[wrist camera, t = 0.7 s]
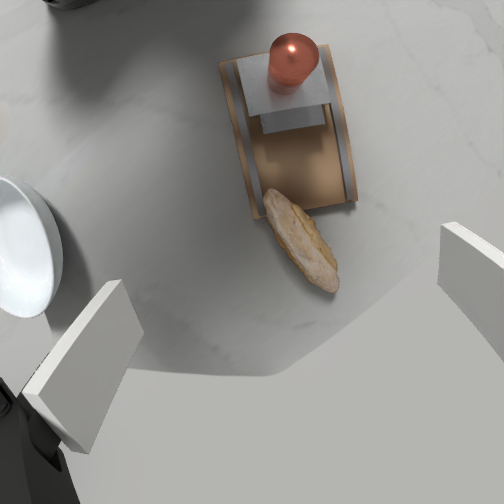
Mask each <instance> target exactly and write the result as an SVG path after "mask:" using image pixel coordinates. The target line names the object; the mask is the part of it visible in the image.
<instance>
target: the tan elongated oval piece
mask: <svg viewBox="0 0 504 504" xmlns="http://www.w3.org/2000/svg"><path fill="white" fill-rule="evenodd" d="M263 203H264V206H265V209H266V212H267V219H268V222H269V224H270V226H271V227H272V229H273V231H274V233H275V235H276V238H277V240H278V242H279V244H280V246H281V247H282V248H283V249H285V250H286V252H287V254H288V256H289V258H290V259H291V260H292V261H293V262H294V263H295V264H296V265H297V267H298V269H300V270H301V272H302V273H303V274H304V275H305V277H306V278H307V280H308V281H309V282H310V283H311V284H315V285H317V286H318V287H320V288H321V289H322V290H324V291H326V292H330V293H335V292H336V291H337V290H338V288H339V278H338V276H337V261H336V259H335V258H334V257H333V255H332V253H331V250H330V248H329V247H328V246H327V244H326V243H325V242H324V240H323V239H322V238H321V236H320V233H319V232H318V231H317V229H316V228H315V222H314V221H313V220H312V218H311V217H310V216H309V215H308V214H307V213H305V212H304V211H303V210H302V209H301V208H300V206H298V205H297V204H294V203H292V202H290V201H289V199H288V198H286V197H285V196H284V195H282V194H281V193H280V192H279V191H277V190H275V189H269V190H267V191H266V192H265V193H264V196H263Z"/></svg>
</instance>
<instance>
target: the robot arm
mask: <svg viewBox="0 0 504 504" xmlns="http://www.w3.org/2000/svg"><path fill="white" fill-rule="evenodd" d="M43 1H44V2H45V3H47V4H48V5H51V6H53V7H55V8H58V9H74V8H78V7H81V6H83V5H86V4H88V3H90V2H92V1H94V0H43ZM437 284H438V285H439V286H440V287H441V288H442V289H443V291H444V292H445V293H446V294H447V295H448V296H449V297H450V298H451V299H452V300H453V301H454V303H456V305H457V306H458V307H459V308H460V309H461V310H462V312H463V313H464V314H465V315H466V316H467V317H468V318H469V320H470V321H471V322H472V323H473V324H474V326H475V327H476V328H477V329H478V330H479V331H480V333H481V334H482V335H483V336H484V338H485V339H486V340H487V341H488V342H489V344H490V345H491V346H492V347H493V349H494V350H495V351H496V352H497V354H498V355H499V356H500V358H501V359H502V360H503V362H504V254H503V253H502V252H501V251H500V250H498V249H497V248H495V247H494V246H492V245H491V244H489V243H488V242H486V241H485V240H483V239H482V238H480V237H479V236H477V235H476V234H474V233H472V232H471V231H469V230H468V229H466V228H465V227H463V226H461V225H460V224H458V223H457V222H451V223H445V224H441V237H440V257H439V271H438V283H437ZM143 335H144V331H143V329H142V327H141V324H140V322H139V320H138V317H137V315H136V313H135V310H134V308H133V306H132V303H131V301H130V298H129V296H128V293H127V291H126V288H125V286H124V283H123V281H122V279H120V280H114V281H107V282H106V283H105V285H104V286H103V287H102V288H101V289H100V290H99V292H98V293H97V294H96V295H95V296H94V298H93V299H92V300H91V301H90V302H89V304H88V305H87V306H86V307H85V308H84V310H83V311H82V312H81V313H80V315H79V316H78V317H77V318H76V319H75V321H74V322H73V323H72V324H71V326H70V327H69V328H68V330H67V331H66V332H65V333H64V335H63V336H62V337H61V338H60V340H59V341H58V342H57V344H56V345H55V346H54V348H53V349H52V350H51V351H50V352H49V353H48V354H47V356H46V357H45V358H44V360H43V361H42V362H41V363H42V364H41V365H39V367H38V368H37V369H36V372H34V373H33V375H32V376H31V378H30V379H29V381H28V382H27V383H26V385H25V386H24V388H23V389H22V391H21V392H20V393H19V395H18V397H17V398H16V397H15V396H14V395H13V393H12V392H11V390H10V389H9V388H8V386H7V385H6V384H5V382H4V381H3V379H2V378H1V377H0V504H80V501H79V499H78V496H77V494H76V491H75V488H74V485H73V482H72V479H71V476H70V473H69V470H68V467H67V464H66V460H65V457H64V454H63V452H62V450H61V449H60V448H59V447H58V446H59V444H60V442H61V440H62V441H63V443H64V444H65V445H66V446H67V447H68V448H69V449H70V450H71V451H74V452H79V453H84V454H89V453H90V451H91V448H92V446H93V444H94V441H95V438H96V437H97V434H98V432H99V429H100V427H101V425H102V422H103V420H104V418H105V416H106V413H107V411H108V409H109V407H110V404H111V402H112V400H113V398H114V396H115V393H116V391H117V389H118V387H119V385H120V383H121V380H122V378H123V376H124V374H125V372H126V370H127V368H128V366H129V363H130V361H131V359H132V357H133V355H134V353H135V351H136V349H137V347H138V345H139V343H140V341H141V339H142V337H143Z"/></svg>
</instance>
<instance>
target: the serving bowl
mask: <svg viewBox="0 0 504 504" xmlns="http://www.w3.org/2000/svg"><path fill="white" fill-rule="evenodd" d="M62 270H63V250H62V243H61V238H60V234H59V231H58V227H57V225H56V222H55V220H54V217H53V215H52V213H51V211H50V209H49V207H48V206H47V204H46V203H45V201H44V200H43V199H42V197H41V196H40V195H39V194H38V193H37V192H36V191H35V190H34V189H33V188H32V187H31V186H30V185H28V184H27V183H25V182H24V181H22V180H20V179H18V178H15V177H12V176H6V175H0V308H1V309H3V310H4V311H6V312H8V313H9V314H11V315H14V316H16V317H20V318H33V317H36V316H38V315H40V314H42V313H43V312H44V311H45V310H46V309H47V307H48V306H49V305H50V303H51V302H52V300H53V298H54V297H55V295H56V292H57V290H58V287H59V285H60V281H61V277H62Z"/></svg>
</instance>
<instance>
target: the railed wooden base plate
mask: <svg viewBox="0 0 504 504" xmlns="http://www.w3.org/2000/svg"><path fill="white" fill-rule="evenodd" d="M317 47H318V50H319V53H320V57H321V61H322V65H323V69H324V73H325V77H326V82H327V86H328V91H329V95H330V100H331V103H330V104H327V105H325V106H322V110H323V115H324V120H325V124H321V125H315V126H308V127H302V128H296V129H290V130H284V131H279V132H273V133H268V134H264V133H263V128H262V124H261V119H260V116H258V117H253V118H250V117H249V113H248V109H247V104H246V100H245V96H244V91H243V87H242V83H241V78H240V74H239V70H238V66H237V62H236V59H241V58H246V57H251V56H256V55H261V54H267V53H270V52H266V53H261V54H255V55H250V56H245V57H240V58H236V59H231V60H227V61H222V62H218V64H219V69H220V73H221V77H222V81H223V86H224V90H225V94H226V99H227V103H228V107H229V112H230V116H231V121H232V125H233V129H234V134H235V138H236V142H237V147H238V151H239V156H240V160H241V165H242V169H243V173H244V178H245V182H246V187H247V191H248V196H249V200H250V205H251V209H252V214H253V218H254V220H255V219H260V218H265V217H267V212H266V209H265V206H264V203H263V196H264V193H265V192H266V191H267V190H269V189H275V190H277V191H279V192H280V193H281V194H282V195H284V196H285V197H286V198H288V199H289V201H290V202H292V203H294V204H297V205H298V206H300V208H301V209H302V210H307V209H312V208H318V207H324V206H329V205H335V204H340V203H346V202H352V201H358V195H357V187H356V180H355V173H354V166H353V160H352V153H351V147H350V141H349V136H348V130H347V125H346V120H345V115H344V110H343V105H342V100H341V95H340V91H339V86H338V82H337V78H336V73H335V69H334V65H333V61H332V57H331V53H330V50H329V46H328V45H318V46H317Z"/></svg>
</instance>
